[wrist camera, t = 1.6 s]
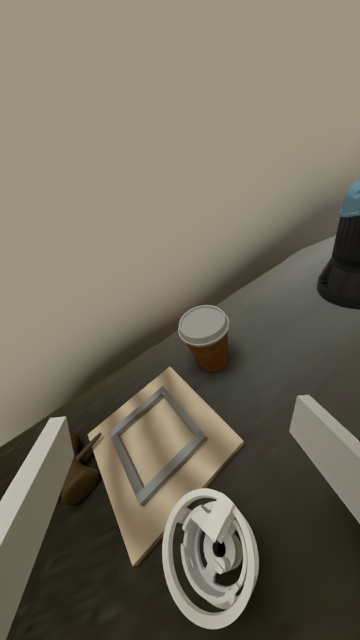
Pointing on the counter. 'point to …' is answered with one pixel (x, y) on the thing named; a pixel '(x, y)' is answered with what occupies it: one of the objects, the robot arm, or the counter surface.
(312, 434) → the robot arm
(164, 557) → the white slotted cylindrical housing
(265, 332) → the counter surface
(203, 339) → the disposable coffee cup
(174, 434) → the locating board
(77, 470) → the kendama
